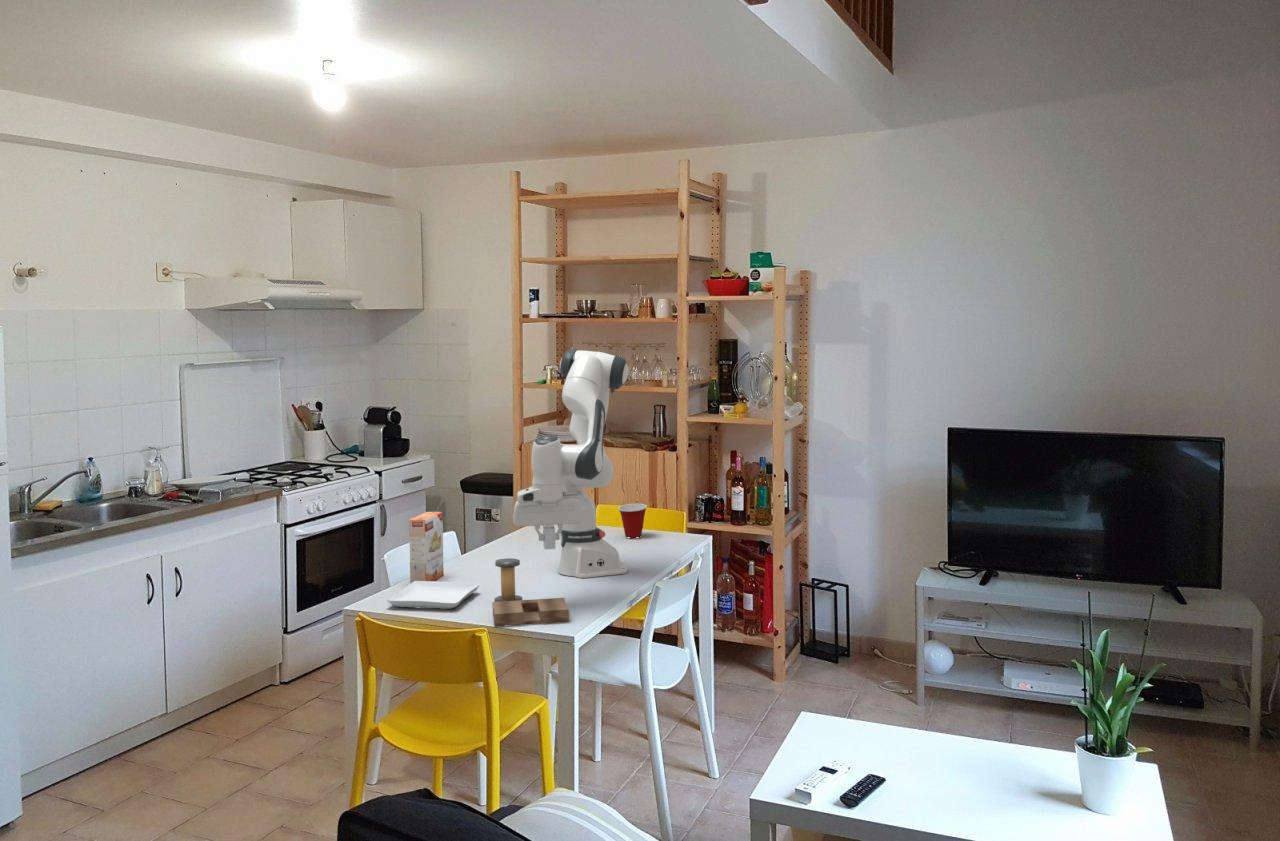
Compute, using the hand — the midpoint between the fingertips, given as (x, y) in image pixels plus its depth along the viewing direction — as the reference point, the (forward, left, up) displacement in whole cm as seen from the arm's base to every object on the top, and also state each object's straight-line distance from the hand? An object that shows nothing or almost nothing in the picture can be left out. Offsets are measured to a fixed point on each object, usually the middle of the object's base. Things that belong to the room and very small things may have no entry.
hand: (549, 539), depth 298 cm
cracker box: (+35, -34, -19) cm, 52 cm away
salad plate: (+33, -9, -19) cm, 39 cm away
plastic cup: (-39, -81, -19) cm, 92 cm away
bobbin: (+12, -1, -18) cm, 22 cm away
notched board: (+7, +15, -18) cm, 25 cm away
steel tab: (0, 0, -2) cm, 2 cm away
